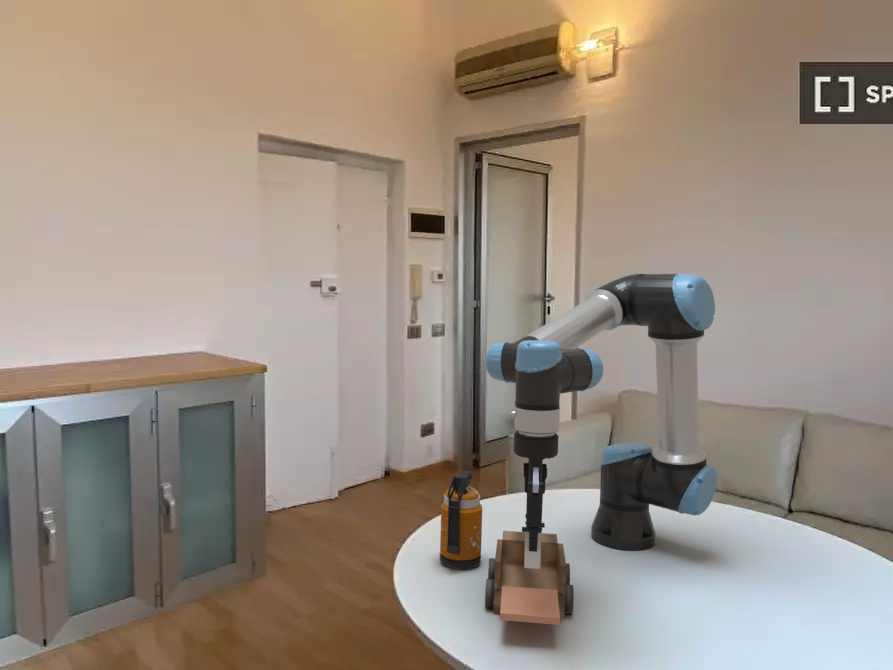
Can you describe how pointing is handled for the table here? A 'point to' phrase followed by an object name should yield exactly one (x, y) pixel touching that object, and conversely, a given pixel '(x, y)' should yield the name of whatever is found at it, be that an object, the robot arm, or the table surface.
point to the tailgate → (529, 605)
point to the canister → (461, 524)
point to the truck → (529, 570)
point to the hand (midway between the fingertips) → (532, 566)
